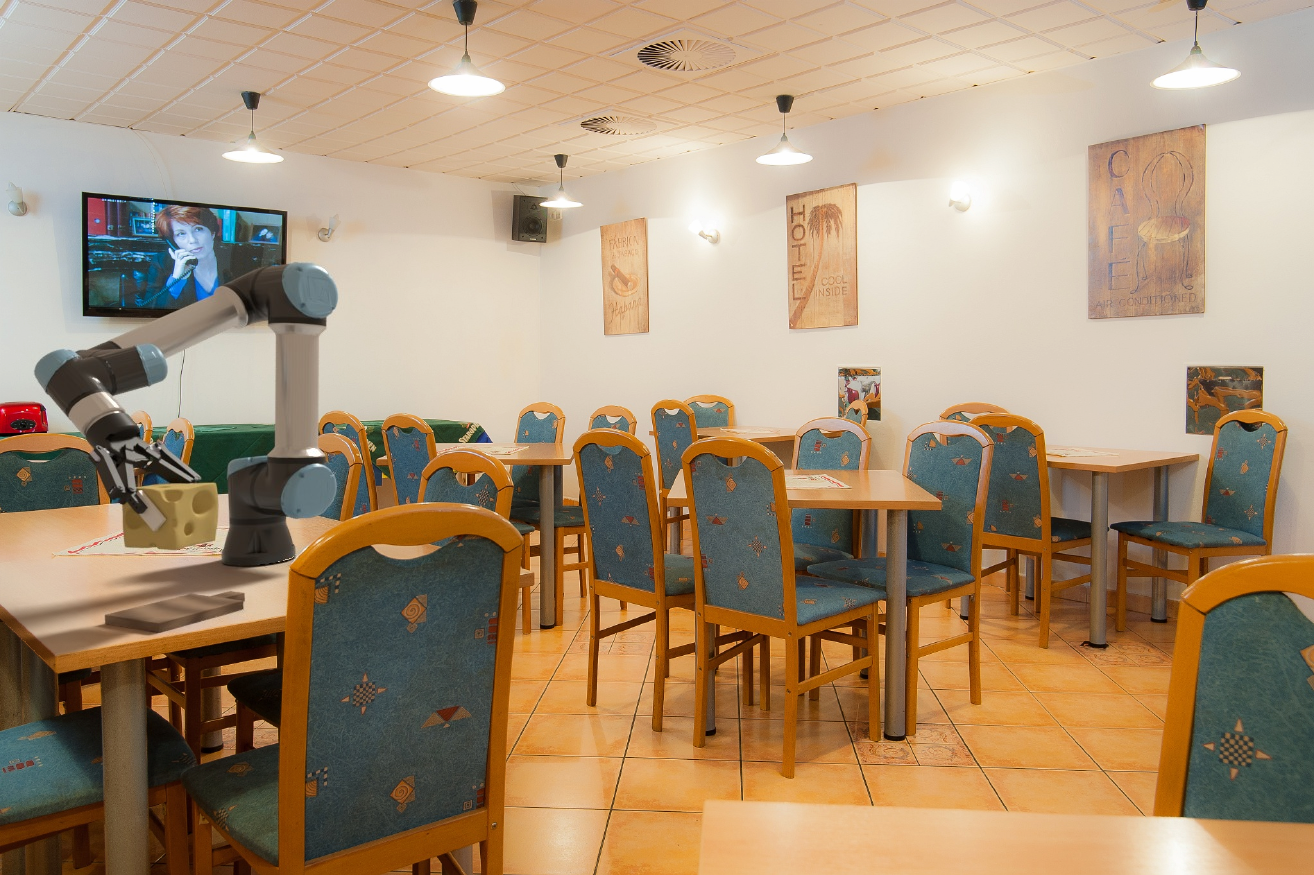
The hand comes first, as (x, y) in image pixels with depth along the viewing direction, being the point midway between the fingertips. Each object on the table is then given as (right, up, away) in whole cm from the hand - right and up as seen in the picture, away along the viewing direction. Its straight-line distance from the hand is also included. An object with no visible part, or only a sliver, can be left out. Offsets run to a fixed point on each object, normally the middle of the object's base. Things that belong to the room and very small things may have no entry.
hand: (185, 520), depth 149 cm
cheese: (-3, -4, +1) cm, 5 cm away
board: (-2, -16, +4) cm, 17 cm away
